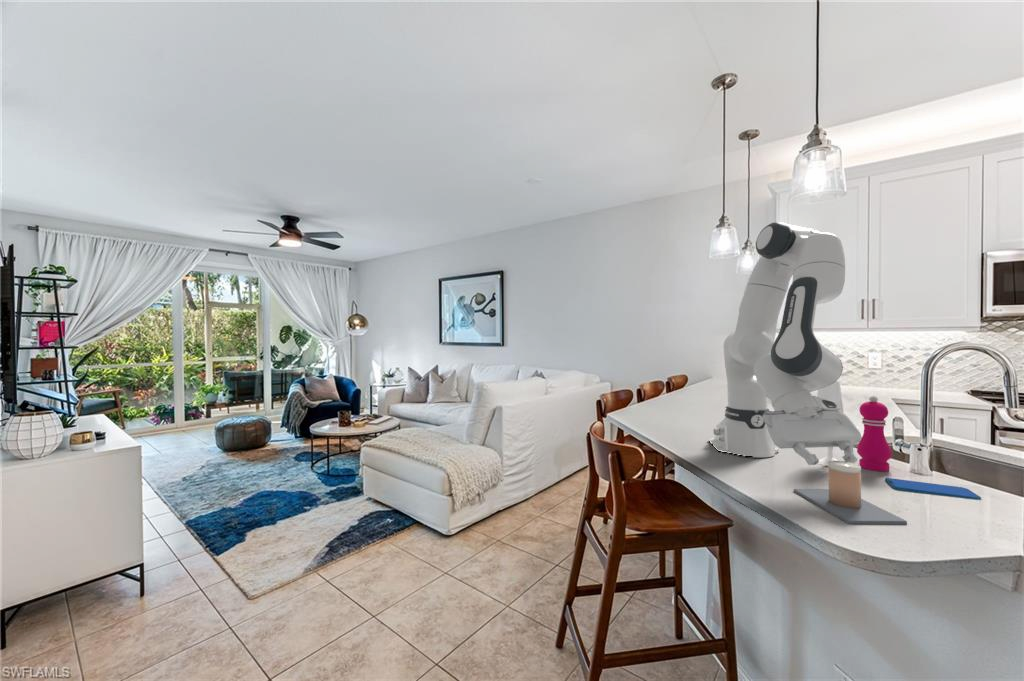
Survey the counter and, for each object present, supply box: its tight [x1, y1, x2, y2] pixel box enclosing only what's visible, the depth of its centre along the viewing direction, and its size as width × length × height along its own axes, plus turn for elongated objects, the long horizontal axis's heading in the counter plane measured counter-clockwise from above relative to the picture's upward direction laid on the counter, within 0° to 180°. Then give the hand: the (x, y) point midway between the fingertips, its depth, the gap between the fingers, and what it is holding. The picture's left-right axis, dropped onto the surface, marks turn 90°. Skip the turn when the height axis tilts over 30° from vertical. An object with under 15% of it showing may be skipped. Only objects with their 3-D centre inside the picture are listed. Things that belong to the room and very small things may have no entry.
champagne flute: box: [816, 379, 845, 467], centre depth 118 cm, size 7×7×24 cm
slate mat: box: [793, 488, 908, 525], centre depth 89 cm, size 17×11×1 cm, turn 177°
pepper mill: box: [856, 395, 893, 472], centre depth 113 cm, size 7×7×20 cm
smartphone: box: [884, 477, 982, 500], centre depth 97 cm, size 7×1×15 cm
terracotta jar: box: [827, 460, 862, 509], centre depth 89 cm, size 6×6×8 cm
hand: (833, 462), depth 90 cm, fingers open, 8 cm apart
